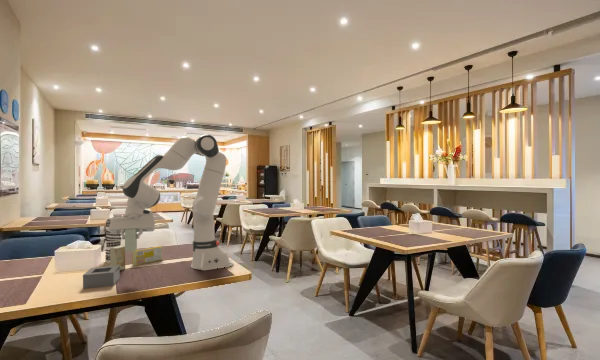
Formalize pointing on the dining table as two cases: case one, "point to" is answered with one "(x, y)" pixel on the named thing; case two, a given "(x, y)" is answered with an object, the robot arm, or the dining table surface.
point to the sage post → (130, 240)
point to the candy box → (146, 255)
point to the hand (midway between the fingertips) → (130, 238)
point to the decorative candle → (111, 240)
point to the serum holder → (101, 276)
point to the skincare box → (117, 256)
